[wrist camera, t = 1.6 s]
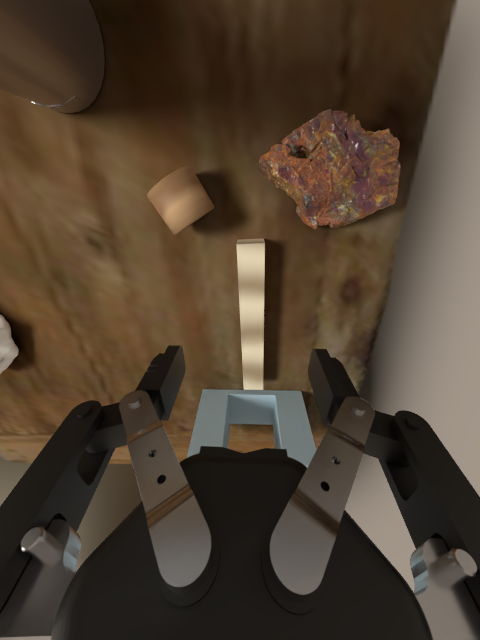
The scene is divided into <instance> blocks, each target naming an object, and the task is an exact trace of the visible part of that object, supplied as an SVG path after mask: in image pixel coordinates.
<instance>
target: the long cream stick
mask: <svg viewBox="0 0 480 640" xmlns="http://www.w3.org/2000/svg"><path fill="white" fill-rule="evenodd" d="M237 262H238V282H239V302H240V322H241V342H242V362H243V383H244V390H263V357H264V277H265V242H264V239H238V240H237Z"/></svg>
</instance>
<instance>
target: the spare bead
mask: <svg viewBox="0 0 480 640" xmlns="http://www.w3.org/2000/svg"><path fill="white" fill-rule="evenodd" d="M147 197H148V198H149V200H150V201H151V203H152V204H153V205H154V207H155V208H156V210H157V211H158V213H159V214H160V215H161V217H162V218H163V220H164V221H165V222H166V224H167V225H168V227H169V228H170V230H171V231H172V232H173V234H174V235H176V234H177V233H179V232H181V231H182V230H184V229H185V228H187V227H188V226H189V225H191V224H192V223H194V222H195V221H197V220H198V219H200V218H201V217H202V216H204V215H205V214H207V213H208V212H209V211H211V210H212V209H213V208H215V207H214V205H213V203H212V201H211V200H210V198H209V196H208V195H207V193H206V191H205V190H204V188H203V186H202V184H201V183H200V181H199V179H198V178H197V176H196V174H195V173H194V171H193V169H192V167H191V166H190V165H187V166H183V167H181V168H179V169H177V170H175V171H174V172H172V173H170V174H169V175H167V176H166V177H165V178H163V179H162V180H161V181H159V182H158V183H157V184H156V185H155V186H154V187H153V188H152V189H151V190H150V191H149V193H148V195H147Z"/></svg>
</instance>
